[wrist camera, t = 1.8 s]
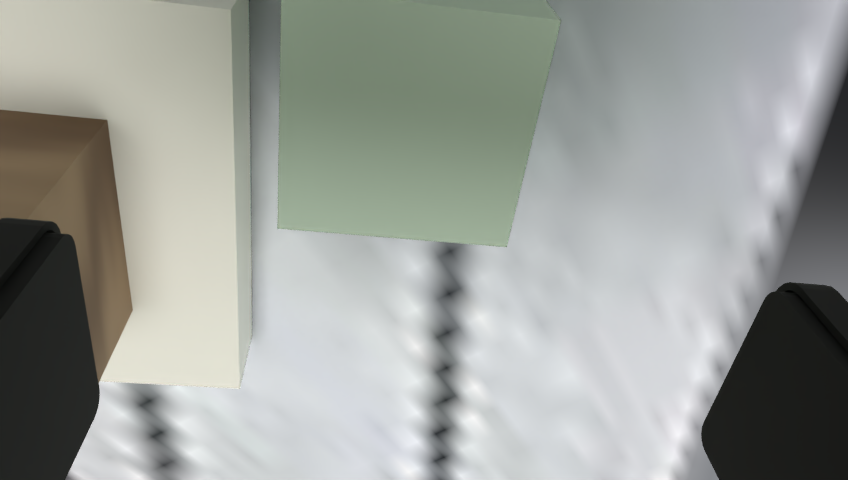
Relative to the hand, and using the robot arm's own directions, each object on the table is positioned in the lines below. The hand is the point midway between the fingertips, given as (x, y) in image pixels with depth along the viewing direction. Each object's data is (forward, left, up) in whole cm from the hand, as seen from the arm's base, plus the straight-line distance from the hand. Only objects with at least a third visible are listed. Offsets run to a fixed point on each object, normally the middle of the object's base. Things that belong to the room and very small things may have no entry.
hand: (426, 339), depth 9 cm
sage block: (-1, 0, -11) cm, 11 cm away
